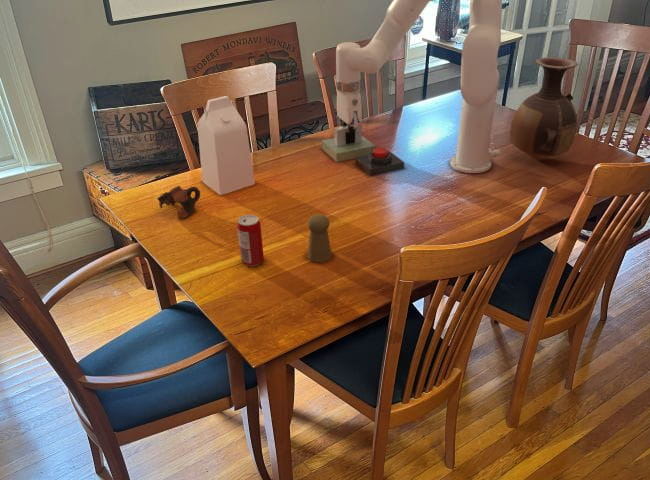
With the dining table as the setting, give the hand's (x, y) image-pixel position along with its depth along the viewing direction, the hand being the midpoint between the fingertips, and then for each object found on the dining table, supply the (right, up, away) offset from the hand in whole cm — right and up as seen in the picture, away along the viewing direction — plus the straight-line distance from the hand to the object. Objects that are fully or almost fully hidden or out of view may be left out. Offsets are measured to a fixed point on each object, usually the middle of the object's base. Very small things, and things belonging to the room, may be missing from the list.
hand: (348, 141), depth 204 cm
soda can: (-26, -43, -50) cm, 71 cm away
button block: (+10, -10, -8) cm, 16 cm away
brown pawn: (-9, -42, -49) cm, 65 cm away
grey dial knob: (0, 0, 0) cm, 1 cm away
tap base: (0, -3, +2) cm, 4 cm away
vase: (+61, -7, -6) cm, 61 cm away
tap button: (+10, -7, -10) cm, 16 cm away
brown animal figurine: (-49, -27, -28) cm, 62 cm away
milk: (-37, -17, -14) cm, 43 cm away
